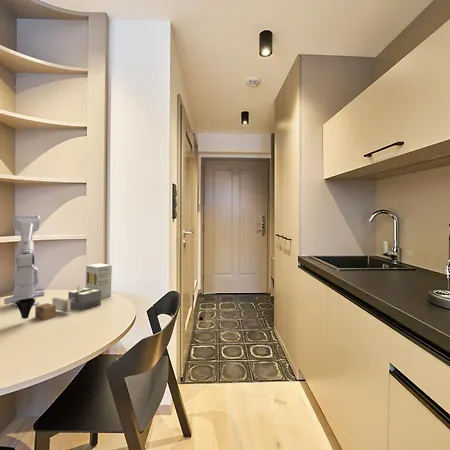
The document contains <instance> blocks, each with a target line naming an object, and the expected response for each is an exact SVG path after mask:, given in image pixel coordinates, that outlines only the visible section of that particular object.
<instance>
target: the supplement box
mask: <svg viewBox="0 0 450 450" xmlns="http://www.w3.org/2000/svg"><path fill="white" fill-rule="evenodd" d="M112 265H113V264H106V263H105V264H104V263H101V262H99V263H94V264H86V268H85V269H86V270H85V288H91V289H96V290H101V299H103V298H108V297H111V296H112V272H113V269H112V267H113V266H112Z"/></svg>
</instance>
